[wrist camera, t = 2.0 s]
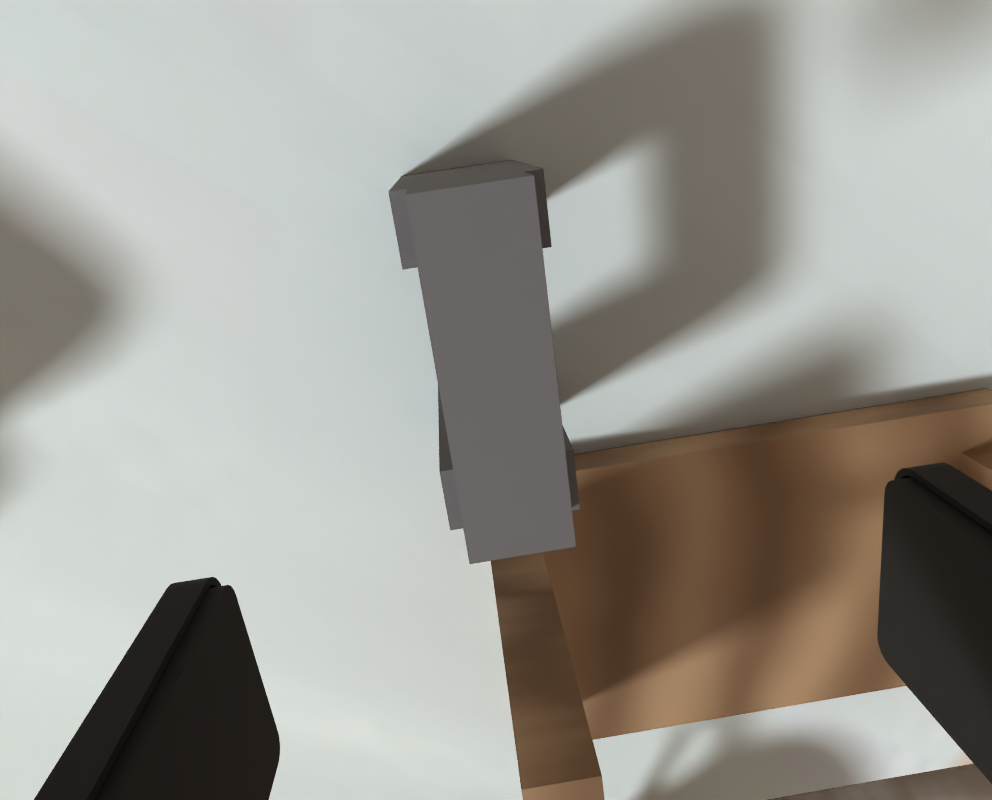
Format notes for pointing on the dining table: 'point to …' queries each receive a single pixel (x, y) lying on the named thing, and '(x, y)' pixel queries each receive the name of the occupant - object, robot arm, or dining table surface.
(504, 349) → the grey arch block
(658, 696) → the wooden rod bracket
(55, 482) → the dining table surface
